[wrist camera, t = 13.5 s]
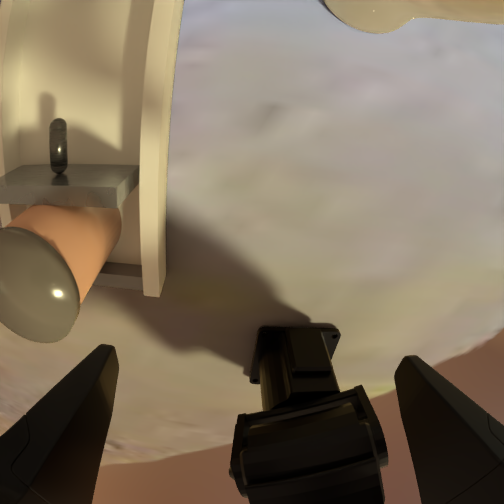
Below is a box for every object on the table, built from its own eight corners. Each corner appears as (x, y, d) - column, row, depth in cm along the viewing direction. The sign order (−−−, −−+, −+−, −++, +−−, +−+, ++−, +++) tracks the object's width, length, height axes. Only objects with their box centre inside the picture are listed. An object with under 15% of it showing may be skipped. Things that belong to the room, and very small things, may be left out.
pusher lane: (166, 275, 21) (148, 336, 16) (30, 260, 20) (-10, 309, 15) (191, -39, 12) (174, -85, 7) (27, -14, 11) (-29, -29, 5)
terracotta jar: (126, 263, 20) (85, 352, 13) (52, 256, 19) (-5, 331, 12) (122, 177, 17) (60, 239, 10) (41, 175, 17) (-39, 231, 10)
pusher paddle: (139, 182, 17) (117, 208, 14) (23, 180, 16) (-13, 203, 13) (141, 111, 15) (116, 120, 12) (20, 118, 14) (-20, 130, 11)
